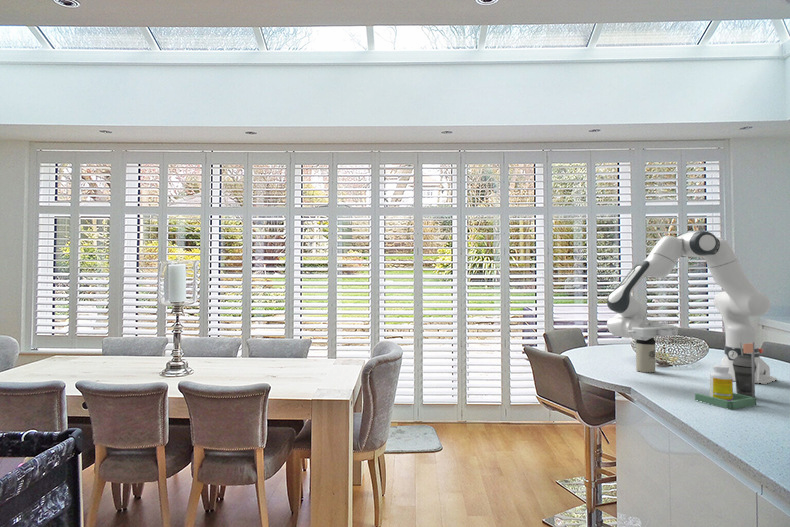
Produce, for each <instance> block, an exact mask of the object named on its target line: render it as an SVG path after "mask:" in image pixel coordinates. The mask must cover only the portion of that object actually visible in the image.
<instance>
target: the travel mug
mask: <svg viewBox="0 0 790 527" xmlns="http://www.w3.org/2000/svg"><path fill="white" fill-rule="evenodd" d="M635 363H636V364H635V369H636V371H637V372H639V371H640V373H644V372H647V373H646V374H648V372H649V374H652V373H651V372H654V373H655V372H656V340H655V337H653V338H651V339H649V340H646V341H645V340H638V339H635Z"/></svg>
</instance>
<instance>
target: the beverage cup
mask: <svg viewBox="0 0 790 527" xmlns="http://www.w3.org/2000/svg"><path fill="white" fill-rule="evenodd" d="M740 348H741V355H739V356H737V357H736V358H735V359H734V361H733V368H734V372H735V381H734V382H735V389H736V394H741V395H745V396H750V397H752V358H751V357H750V356H748V355H743V351H742V344H741V343H740ZM755 371H756V363H755Z"/></svg>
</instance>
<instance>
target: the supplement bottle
mask: <svg viewBox="0 0 790 527" xmlns="http://www.w3.org/2000/svg"><path fill="white" fill-rule="evenodd" d="M712 366H713V367H712V369H713V371H712V372H710V373H709V386H710V387H709V390H710V391H709V393H710V394H709V395H710V396H711V397H715V398H719V399H723V400H727V401H732V400H733V393H734V392H733V386H734V385H733V382H734V381H733V378H732V375H731V374H729V373H728V371H729V367H728V366H723V365H722V364H714V365H712Z"/></svg>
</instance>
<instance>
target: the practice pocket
mask: <svg viewBox="0 0 790 527" xmlns="http://www.w3.org/2000/svg"><path fill="white" fill-rule="evenodd" d="M743 353H752V397H750V396H745V395H741V394H737V392H733V400H732V401H727V400H723V399H719V398H715V397H711V396H709V395H708V394H707V395H706V394H702V393H695V394H694V401H695V400H698V401H697V402H699V401H702V402H701V403H703V402H706V403H705V404H707V403H709V404H708V405H711V404H713V405H712V406H715V405H717V406H716V407H719V406H721V407H720V408H722V407H724V409H726V408H728V409H727V410H730V409H732V410H737V408H738V409H743V408H748V407H754V406H757V397H756V383H755V351H754V342H752V343H748V344H743Z"/></svg>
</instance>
